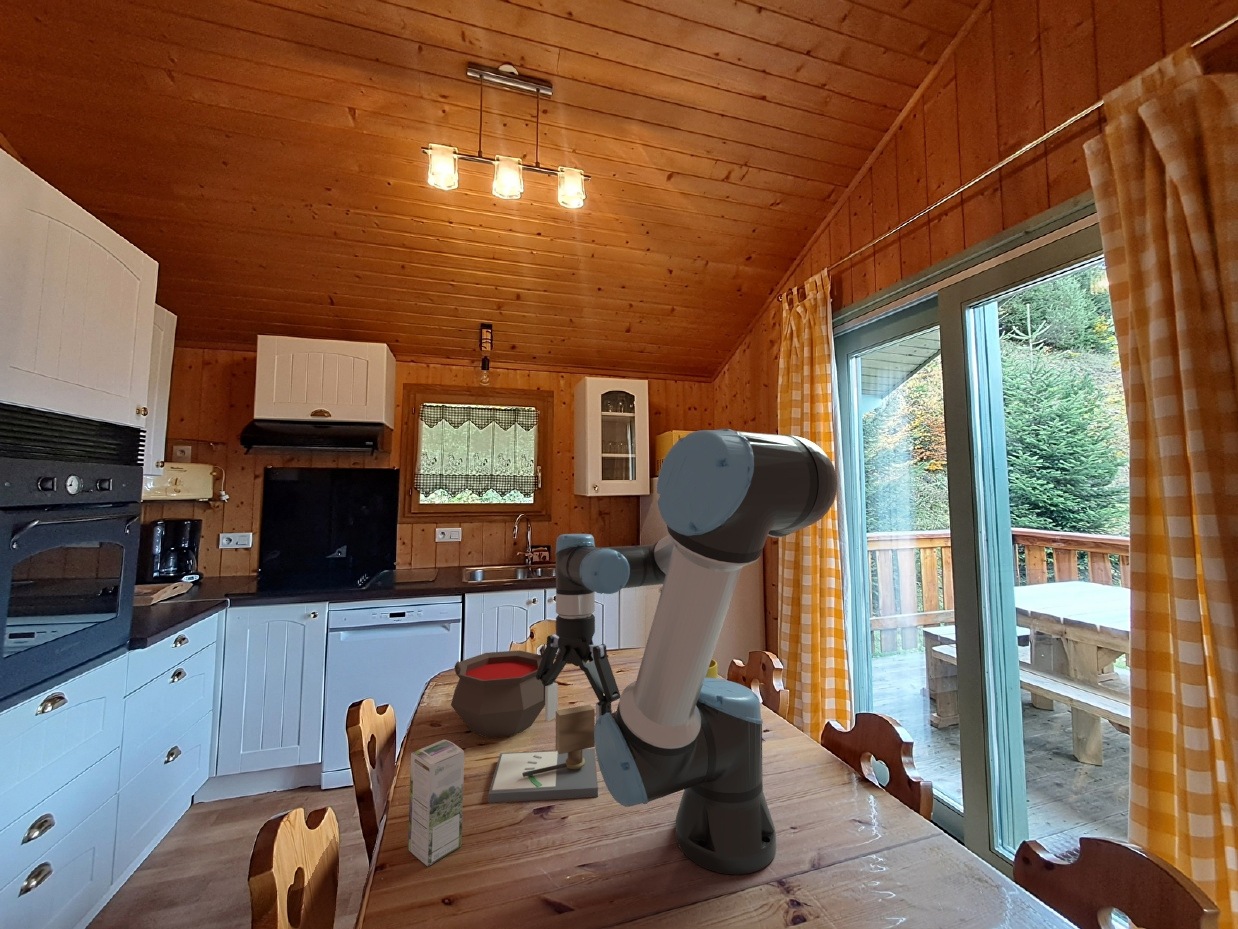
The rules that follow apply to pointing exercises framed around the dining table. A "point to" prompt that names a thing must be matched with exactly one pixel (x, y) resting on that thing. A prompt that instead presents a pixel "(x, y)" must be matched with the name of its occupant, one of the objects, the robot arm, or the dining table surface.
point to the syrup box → (436, 801)
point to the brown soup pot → (499, 692)
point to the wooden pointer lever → (572, 736)
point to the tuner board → (542, 777)
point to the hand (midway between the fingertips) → (575, 728)
